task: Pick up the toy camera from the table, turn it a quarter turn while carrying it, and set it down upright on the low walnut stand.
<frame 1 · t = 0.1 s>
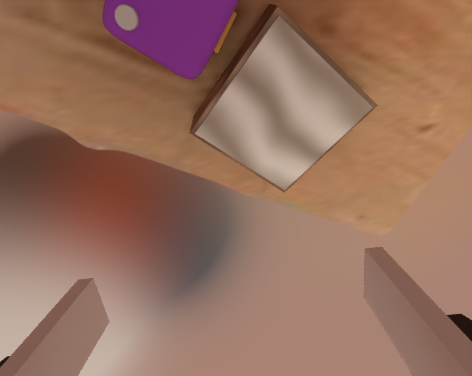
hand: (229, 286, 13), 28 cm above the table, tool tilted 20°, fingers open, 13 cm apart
stand: (275, 104, 36), on the table
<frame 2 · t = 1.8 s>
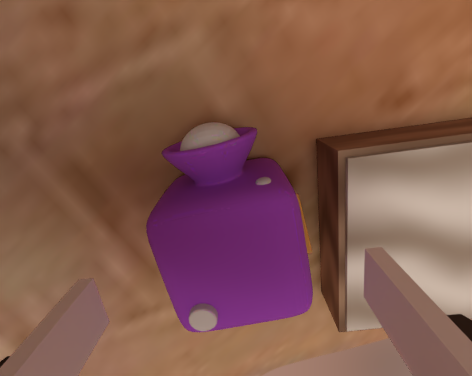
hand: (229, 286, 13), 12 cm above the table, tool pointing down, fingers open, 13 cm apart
toy camera: (229, 193, 24), on the table
stand: (405, 212, 24), on the table
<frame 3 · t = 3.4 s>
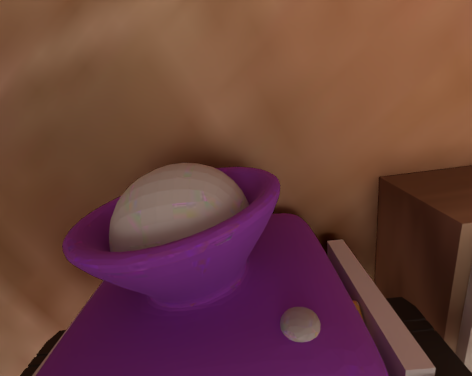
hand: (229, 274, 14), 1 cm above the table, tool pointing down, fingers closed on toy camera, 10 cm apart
toy camera: (223, 263, 15), on the table, touching gripper
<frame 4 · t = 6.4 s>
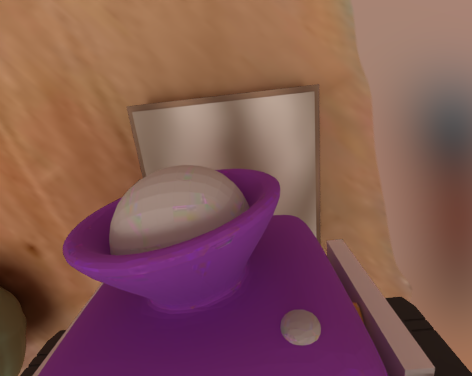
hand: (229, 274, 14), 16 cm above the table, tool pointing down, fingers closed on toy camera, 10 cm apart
toy camera: (224, 264, 15), point 15 cm above the table, touching gripper
stand: (233, 173, 29), on the table
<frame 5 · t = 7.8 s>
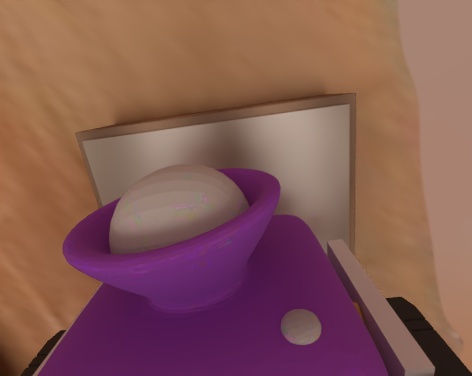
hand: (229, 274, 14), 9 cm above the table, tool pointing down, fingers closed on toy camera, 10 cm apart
toy camera: (224, 263, 15), point 8 cm above the table, touching gripper
stand: (233, 208, 22), on the table
when the fingers open (7 cm above the table, at t = 9.1 s): toy camera stays where it is, resting on stand.
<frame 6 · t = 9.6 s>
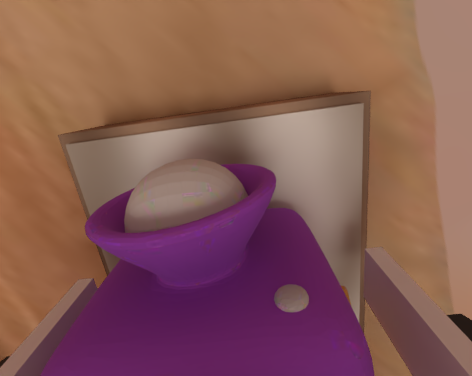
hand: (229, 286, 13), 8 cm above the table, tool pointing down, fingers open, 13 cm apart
toy camera: (224, 254, 16), point 5 cm above the table, touching stand
stand: (233, 215, 21), on the table
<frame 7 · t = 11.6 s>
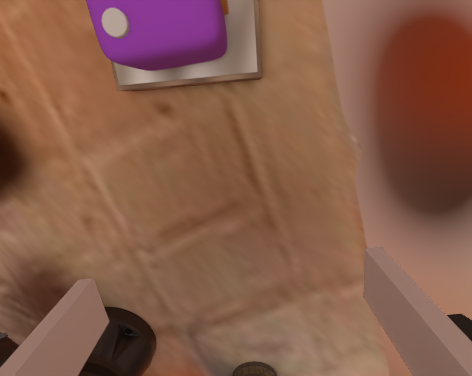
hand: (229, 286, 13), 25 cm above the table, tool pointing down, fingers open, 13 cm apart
stand: (187, 12, 31), on the table
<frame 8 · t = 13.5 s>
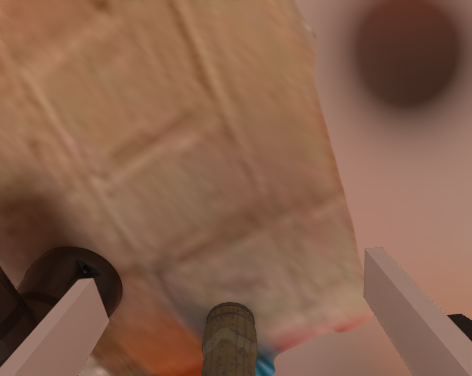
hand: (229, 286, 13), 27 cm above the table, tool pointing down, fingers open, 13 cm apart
olive green segmented column: (230, 320, 48), on the table
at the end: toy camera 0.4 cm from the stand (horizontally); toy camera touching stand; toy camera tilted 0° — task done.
